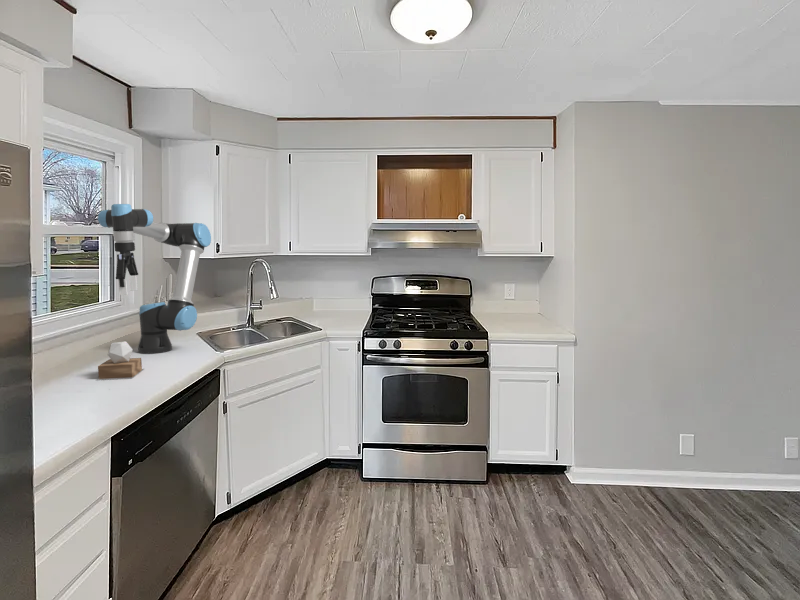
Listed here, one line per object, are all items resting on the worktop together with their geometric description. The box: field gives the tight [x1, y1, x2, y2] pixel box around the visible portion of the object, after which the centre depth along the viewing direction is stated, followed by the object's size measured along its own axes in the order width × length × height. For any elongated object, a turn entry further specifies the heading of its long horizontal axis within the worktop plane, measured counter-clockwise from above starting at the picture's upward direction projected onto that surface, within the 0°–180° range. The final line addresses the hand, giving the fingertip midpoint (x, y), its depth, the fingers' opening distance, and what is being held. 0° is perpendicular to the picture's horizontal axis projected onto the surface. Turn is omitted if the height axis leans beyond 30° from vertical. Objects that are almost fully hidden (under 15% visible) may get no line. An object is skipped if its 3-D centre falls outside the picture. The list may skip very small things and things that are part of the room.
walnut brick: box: [97, 357, 143, 379], centre depth 215 cm, size 12×12×5 cm
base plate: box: [95, 368, 145, 382], centre depth 215 cm, size 16×13×1 cm
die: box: [107, 341, 134, 363], centre depth 214 cm, size 8×9×10 cm
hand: (128, 292), depth 229 cm, fingers open, 13 cm apart
